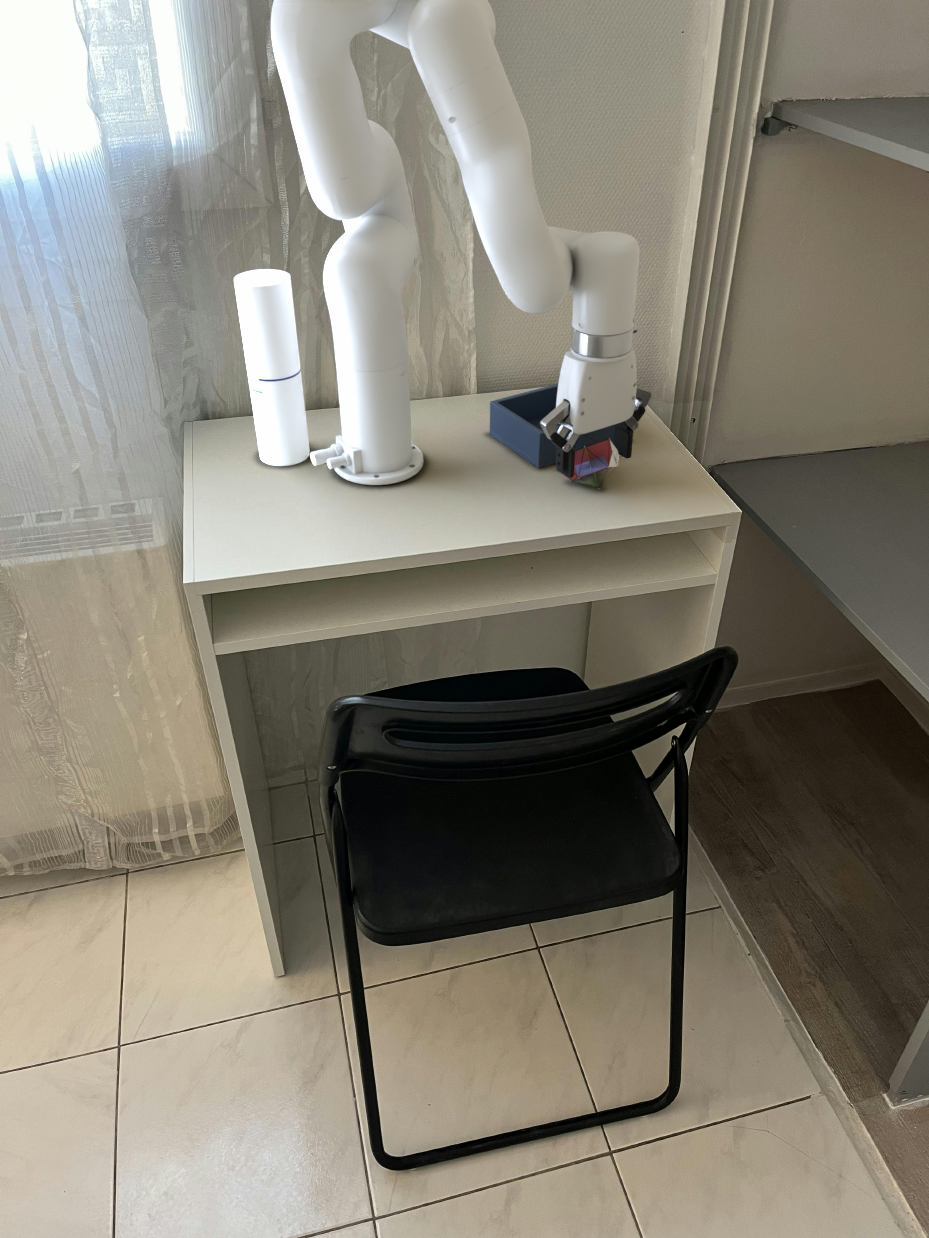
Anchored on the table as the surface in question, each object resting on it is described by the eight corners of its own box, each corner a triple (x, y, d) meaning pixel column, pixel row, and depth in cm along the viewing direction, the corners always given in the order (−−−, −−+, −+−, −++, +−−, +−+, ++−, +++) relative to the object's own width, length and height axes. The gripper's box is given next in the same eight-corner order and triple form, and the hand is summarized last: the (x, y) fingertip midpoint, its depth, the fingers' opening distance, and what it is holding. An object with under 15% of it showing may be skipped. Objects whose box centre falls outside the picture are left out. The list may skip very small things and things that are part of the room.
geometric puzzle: (552, 480, 124) (593, 435, 120) (547, 456, 129) (585, 412, 125) (593, 508, 126) (634, 465, 123) (586, 483, 132) (624, 441, 128)
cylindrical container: (300, 468, 131) (278, 288, 116) (252, 463, 132) (224, 284, 117) (316, 445, 137) (298, 271, 122) (270, 441, 138) (246, 267, 123)
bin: (538, 468, 131) (539, 433, 128) (489, 434, 139) (489, 401, 136) (627, 441, 138) (631, 407, 134) (575, 410, 146) (578, 378, 143)
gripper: (636, 317, 122) (625, 437, 132) (526, 345, 115) (524, 470, 125) (675, 334, 117) (661, 458, 127) (563, 365, 110) (558, 493, 120)
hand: (593, 464), depth 126 cm, fingers open, 9 cm apart
